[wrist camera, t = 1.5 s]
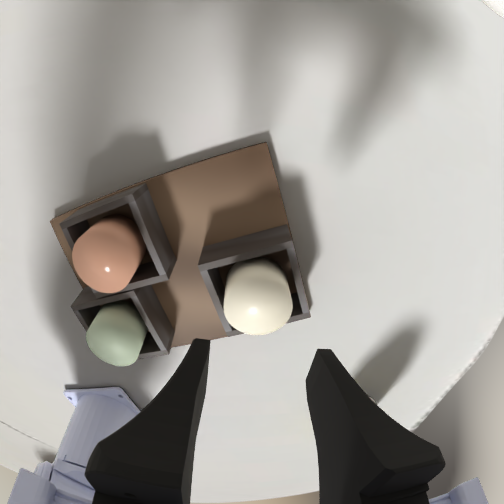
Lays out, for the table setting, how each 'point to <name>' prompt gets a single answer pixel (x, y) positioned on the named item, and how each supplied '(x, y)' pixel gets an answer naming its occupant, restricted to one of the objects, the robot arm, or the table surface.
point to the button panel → (192, 245)
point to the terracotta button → (109, 253)
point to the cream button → (257, 296)
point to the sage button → (117, 333)
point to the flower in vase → (495, 6)
